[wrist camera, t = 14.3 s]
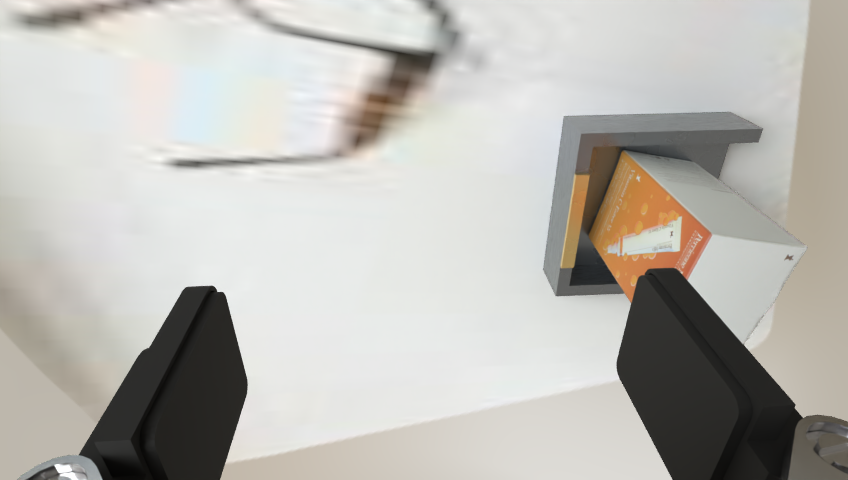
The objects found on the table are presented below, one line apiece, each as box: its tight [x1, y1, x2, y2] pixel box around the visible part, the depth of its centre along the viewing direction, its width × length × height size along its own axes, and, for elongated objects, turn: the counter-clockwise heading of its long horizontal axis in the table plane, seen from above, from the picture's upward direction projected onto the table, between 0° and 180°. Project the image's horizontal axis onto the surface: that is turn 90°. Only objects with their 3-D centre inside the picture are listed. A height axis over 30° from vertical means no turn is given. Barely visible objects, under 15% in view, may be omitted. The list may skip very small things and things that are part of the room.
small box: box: [589, 150, 808, 345], centre depth 36 cm, size 8×6×13 cm
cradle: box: [543, 112, 763, 296], centre depth 41 cm, size 14×13×4 cm
